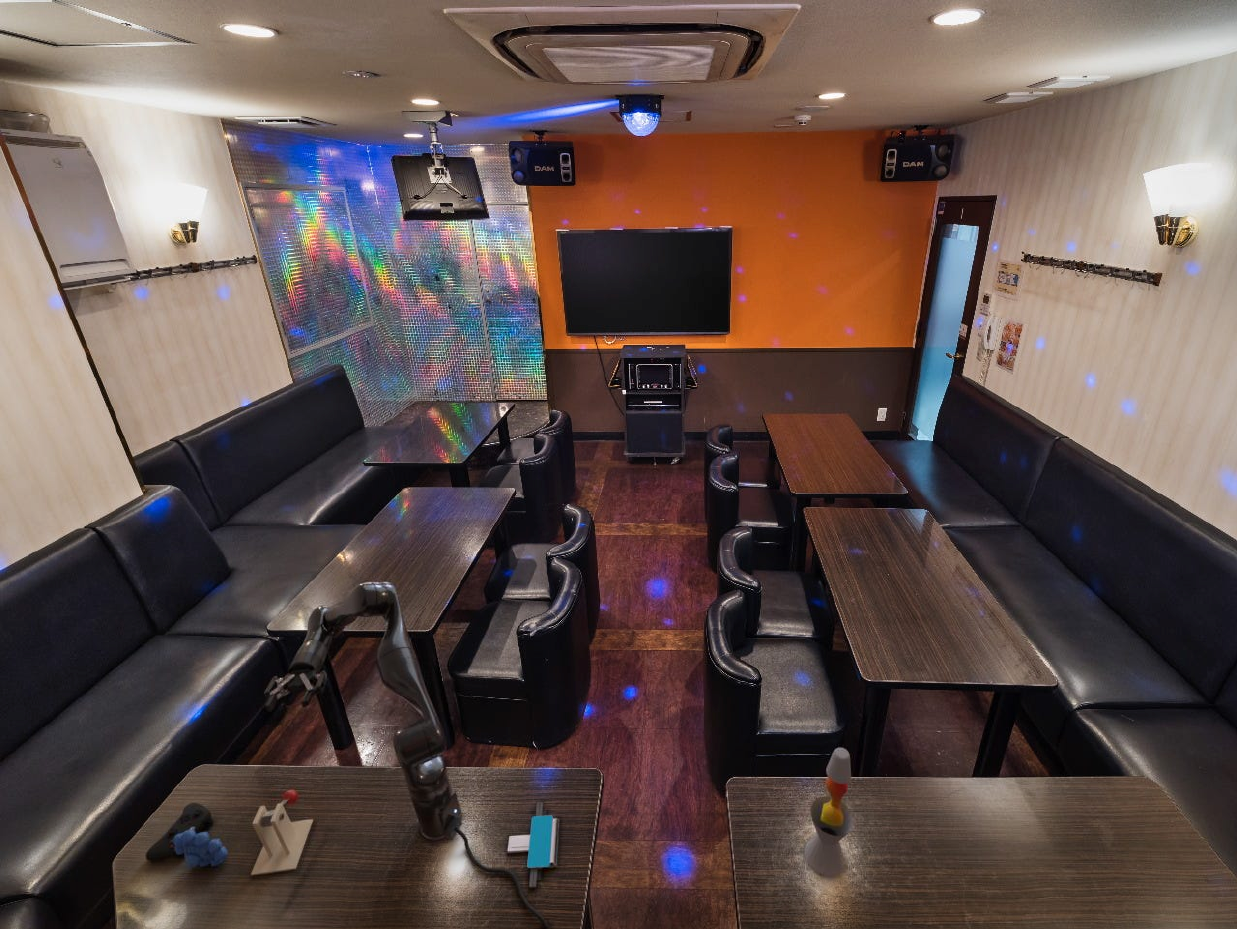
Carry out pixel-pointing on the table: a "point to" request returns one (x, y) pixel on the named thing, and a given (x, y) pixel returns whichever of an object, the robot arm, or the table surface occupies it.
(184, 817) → the gaming controller
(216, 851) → the grapes
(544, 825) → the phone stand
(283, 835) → the switch bracket
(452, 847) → the table surface
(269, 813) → the power lever
